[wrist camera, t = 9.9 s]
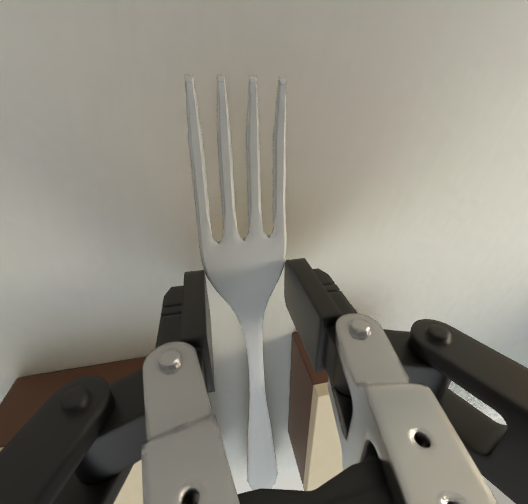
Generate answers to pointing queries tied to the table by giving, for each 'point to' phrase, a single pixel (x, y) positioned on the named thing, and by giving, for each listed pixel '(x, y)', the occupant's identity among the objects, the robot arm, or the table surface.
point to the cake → (43, 387)
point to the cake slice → (312, 421)
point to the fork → (244, 249)
